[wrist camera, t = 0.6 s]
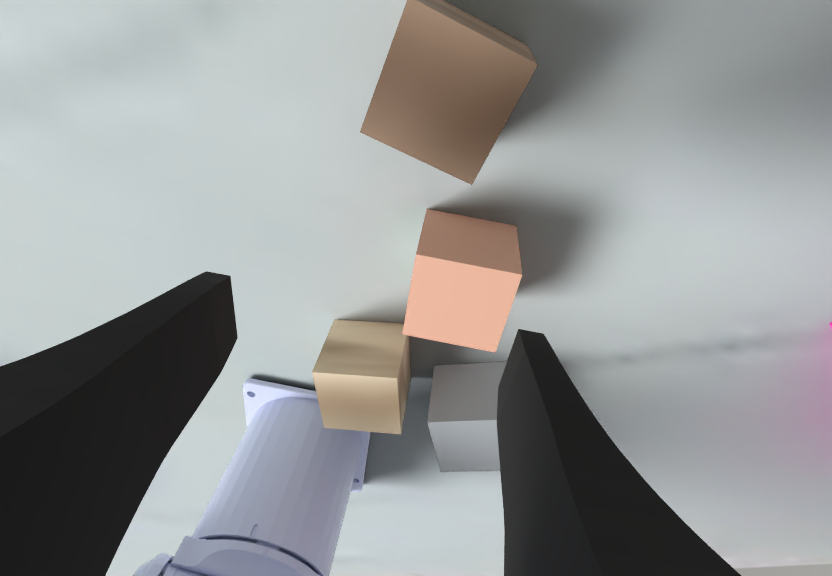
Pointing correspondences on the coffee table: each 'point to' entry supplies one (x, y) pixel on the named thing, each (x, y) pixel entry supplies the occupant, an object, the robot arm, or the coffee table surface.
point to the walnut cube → (447, 87)
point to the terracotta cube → (463, 280)
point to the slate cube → (465, 416)
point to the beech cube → (363, 376)
